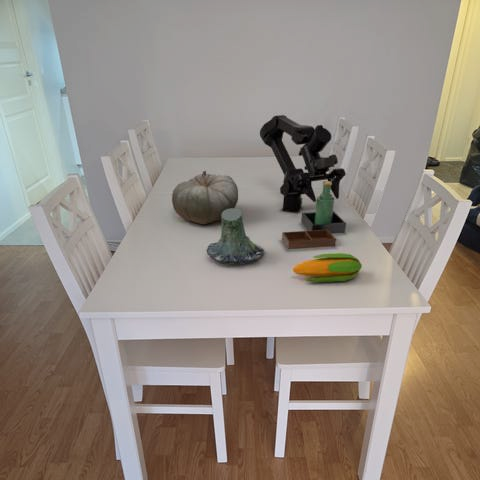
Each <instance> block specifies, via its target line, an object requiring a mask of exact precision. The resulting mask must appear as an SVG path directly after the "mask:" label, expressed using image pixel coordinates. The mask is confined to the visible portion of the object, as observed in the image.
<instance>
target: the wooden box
mask: <svg viewBox="0 0 480 480" xmlns="http://www.w3.org/2000/svg"><path fill="white" fill-rule="evenodd" d="M281 233H282V234H281V241H282V242H283V244H284V245H285V248H287V250H299V249H315V248H329V247H336V242H337V238H336V237H335V236H334V234H331V233H330V232H329V231H328V230H313V231H308V230H299V231H282V232H281Z"/></svg>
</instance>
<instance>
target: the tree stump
mask: <svg viewBox="0 0 480 480" xmlns="http://www.w3.org/2000/svg"><path fill="white" fill-rule="evenodd" d="M221 216H222V218H221V219H220V220H221V231H220V232H221V233H220V238H219V239H218V240H217V242H212V243H209V244H208V245H207V248H206V254H207V256H209V257H210V258H211V259H212V260H214V261H216V262H217V263H222V264H230V265H239V266H240V265H245V264H249V263H252V262H256V261H258V260H259V259H260V258H262V256H264V252H265V250H264V249H265V248H262V247H260V245H258V244H256V243H254V242H253V241H252V240H251V239H250V237H249V236H247V235H246V230H245V227H244V219H243V213H242V211H241V210H240V209H239V208H236V207H235V208H231V209H226V210H224V211H223V212H222V215H221Z"/></svg>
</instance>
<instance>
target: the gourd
mask: <svg viewBox="0 0 480 480" xmlns="http://www.w3.org/2000/svg"><path fill="white" fill-rule="evenodd" d="M238 201H239V189H238V185H237V183H236V182H235V180H234V179H233V178H232V177H231V176H230V175H227V174H212V173H207V170H203V171H202V173H200V174H196V175H195V176H194V177H193V178H190V179H189V180H186V181H182V182H180V183H178V184H177V185H176V187H174V189H173V191H172V195H171V203H172V207H173V210H174V211H175V213H176V214H177V215H178V216H179V217H180V218H181V219H183V220H185V221H187V222H193V223H195V224H198V225H207V224H209V223H212V222H215V221H219V220H222V219H221V218H222V216H221V215H222V212H223V211H224V210H226V209H231V208H236V206H237V204H238Z"/></svg>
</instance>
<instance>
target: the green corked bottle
mask: <svg viewBox="0 0 480 480" xmlns="http://www.w3.org/2000/svg"><path fill="white" fill-rule="evenodd" d="M331 185H332V182H330V181H328V180H323V182H322V193H320V194H319V195H318V196H317V197H316V202H315V211H314V212H315V222H314V224H330V223H332V215H333V211H334V207H335V197H333V195H332V193H331V191H332V190H331Z"/></svg>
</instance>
